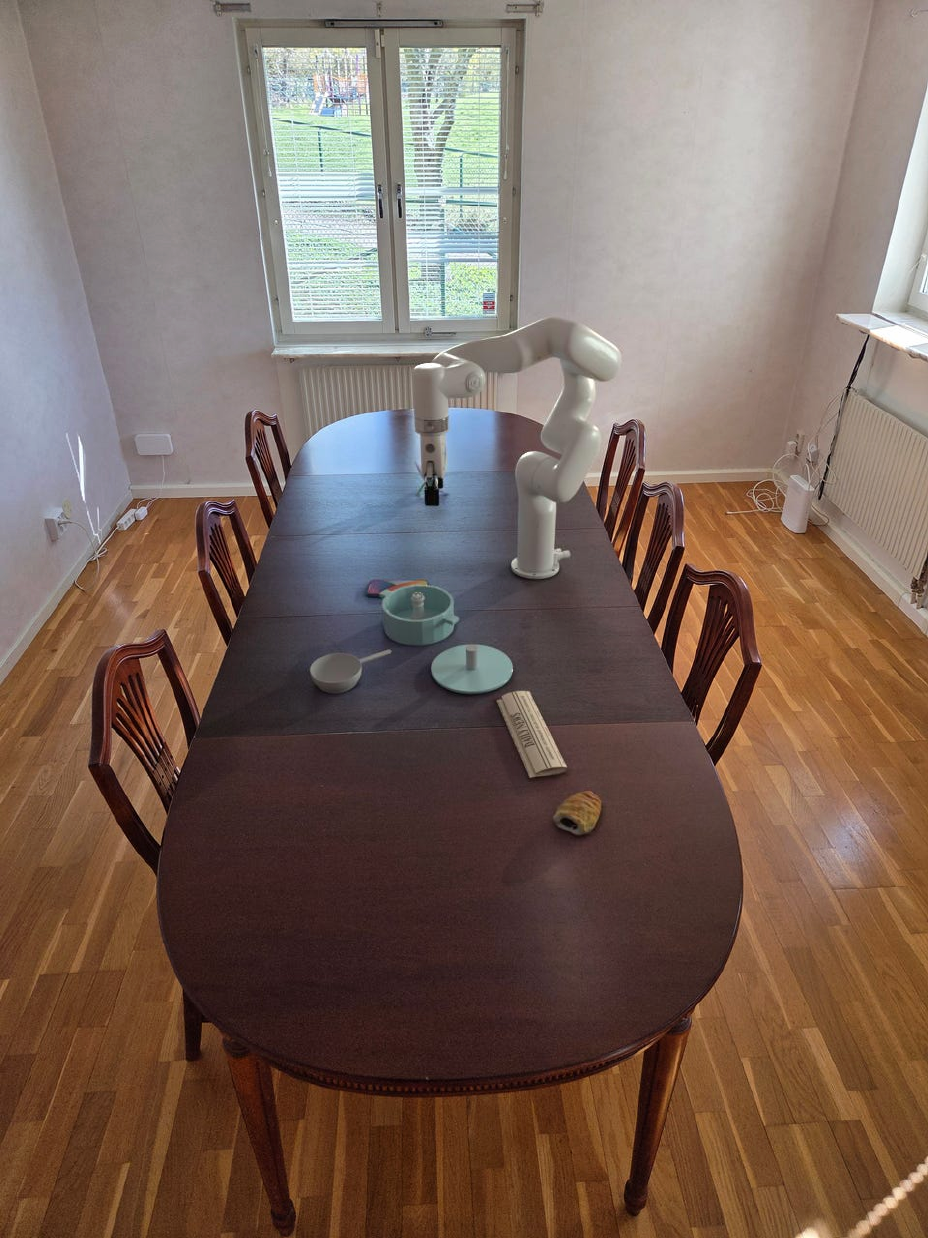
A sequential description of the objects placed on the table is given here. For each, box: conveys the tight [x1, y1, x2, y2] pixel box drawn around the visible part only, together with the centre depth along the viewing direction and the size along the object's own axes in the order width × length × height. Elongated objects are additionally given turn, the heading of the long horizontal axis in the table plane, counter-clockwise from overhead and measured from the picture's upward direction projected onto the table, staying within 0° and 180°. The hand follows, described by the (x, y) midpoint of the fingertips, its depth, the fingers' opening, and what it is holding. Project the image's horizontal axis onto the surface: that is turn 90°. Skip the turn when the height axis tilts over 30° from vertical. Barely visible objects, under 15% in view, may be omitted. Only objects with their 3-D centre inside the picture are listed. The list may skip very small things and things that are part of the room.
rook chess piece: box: [410, 592, 428, 620], centre depth 190 cm, size 4×4×8 cm
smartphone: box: [366, 579, 429, 598], centre depth 207 cm, size 7×15×1 cm, turn 85°
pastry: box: [552, 790, 602, 836], centre depth 139 cm, size 9×7×4 cm
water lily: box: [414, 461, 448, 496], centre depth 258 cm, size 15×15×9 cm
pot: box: [378, 584, 460, 646], centre depth 191 cm, size 17×22×6 cm
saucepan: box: [309, 649, 392, 694], centre depth 175 cm, size 11×18×4 cm, turn 118°
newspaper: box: [496, 690, 568, 779], centre depth 158 cm, size 24×7×2 cm, turn 13°
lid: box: [430, 643, 514, 695], centre depth 175 cm, size 18×18×6 cm
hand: (434, 496), depth 187 cm, fingers open, 9 cm apart
